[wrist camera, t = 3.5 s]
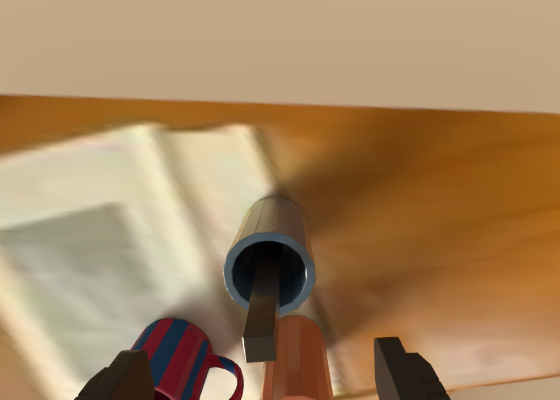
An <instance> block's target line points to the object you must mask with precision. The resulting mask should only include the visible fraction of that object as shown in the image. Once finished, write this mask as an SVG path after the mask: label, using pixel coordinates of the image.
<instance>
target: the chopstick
mask: <svg viewBox="0 0 560 400" xmlns="http://www.w3.org/2000/svg"><path fill="white" fill-rule="evenodd" d="M282 253H283V243H280V242H276V241H273V240H271V241H263V243H262V247H261V252H260V257H259V261H258V266H257V270H256V275H255V279H254V284H253V288H252V293H251V297H250V302H249V307H248V311H247V316H246V320H245V325H244V329H243V334H242V341H243V348H244V355H245V361H246V362H247V363H251V362H269V361H276V360H277V348H278V329H279V310H280V291H281V272H282Z"/></svg>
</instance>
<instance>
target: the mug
mask: <svg viewBox="0 0 560 400" xmlns="http://www.w3.org/2000/svg"><path fill="white" fill-rule="evenodd" d="M130 350H145V351H146V352H147V355H148V359H149V363H150V367H151V372H152V376H153V380H154V385H155V393H154V399H153V400H200V399H199V398H200V395H201V392H202V389H203V386H204V383H205V380H206V377H207V374H208V371H209V369H210V368H212V367H218V368H222V369H226V370H228V371H229V372H231V373H233V374H234V375H235V377H236V378H237V387H236V390H235V392H234V394H233V395H232V397H231V398H230V399H229V400H241V398H242V395H243V388H244V378H243V375H242V371H241V368H240V367H239V366H238V365H237V364H236V363H235V362H234V361H232V360H230V359H228V358H226V357H223V356H219V355H215V354H212V347H211V344H210V342H209V340H208V338H207V337H206V335H205V334H204V333H203V332H202V331H201V330H200V329H199V328H198V327H196V326H195V325H193V324H191V323H189V322H187V321H184V320H179V319H163V320H159V321H156V322H154V323H152V324H151V325H149V326H148V327H147V328H146V329H145V330H144V331H143V332H142V334H141V335H140V336H139V338H138V339H137V341H136V342H135V344H134V345H133V346H132V348H131V349H130Z"/></svg>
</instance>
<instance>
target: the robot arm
mask: <svg viewBox="0 0 560 400" xmlns="http://www.w3.org/2000/svg"><path fill="white" fill-rule="evenodd" d="M374 356H375V381H376V388H377V392H378V396H379V400H450V397H449V396H448V394H446V390H445V389H444V387H443V385H442V383H441V382H439V378H438V376H437V375H436V373H435V371H434V369H433V368H432V366H431V364H430V363H428V362H427V361H426V360H425V359H424V358H423V357H422V356H420V355H419V354H418V353H406V352H405V350H404V348H403V346H402V344H401V342H400V340H399V338H398V337H382V338H375V340H374ZM154 393H155V385H154V380H153V376H152V372H151V367H150V363H149V359H148V355H147V352H146V351H145V350H124V351H121V352H120V353H119V354H118V355H117V357H116V358H115V359H114V361H113V362H112V363H111V365H110V366H109V367H105V368H104V369H102V370H101V371H100V372H99V373H97V374H96V375H95V376H94V377H92V378H91V379H90V380H89V381H88V382H87V384H86V385H85V386H84V388H83V389H82V390H81V391H80V393H79V394H78V397H76V398H75V399H74V400H153V399H154Z"/></svg>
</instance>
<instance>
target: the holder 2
mask: <svg viewBox="0 0 560 400" xmlns="http://www.w3.org/2000/svg"><path fill="white" fill-rule="evenodd" d="M260 400H334V398H333V392H332V385H331V379H330V373H329V366H328V360H327V354H326V348H325V341H324V337H323V333H322V331H321V329H320V328H319V327H318V325H317V324H316V323H314V322H313V321H311V320H310V319H308V318H305V317H301V316H289V317H285V318H282V319H280V320H279V329H278V348H277V360H276V361H269V362H264V363H263V373H262V382H261V392H260Z"/></svg>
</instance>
